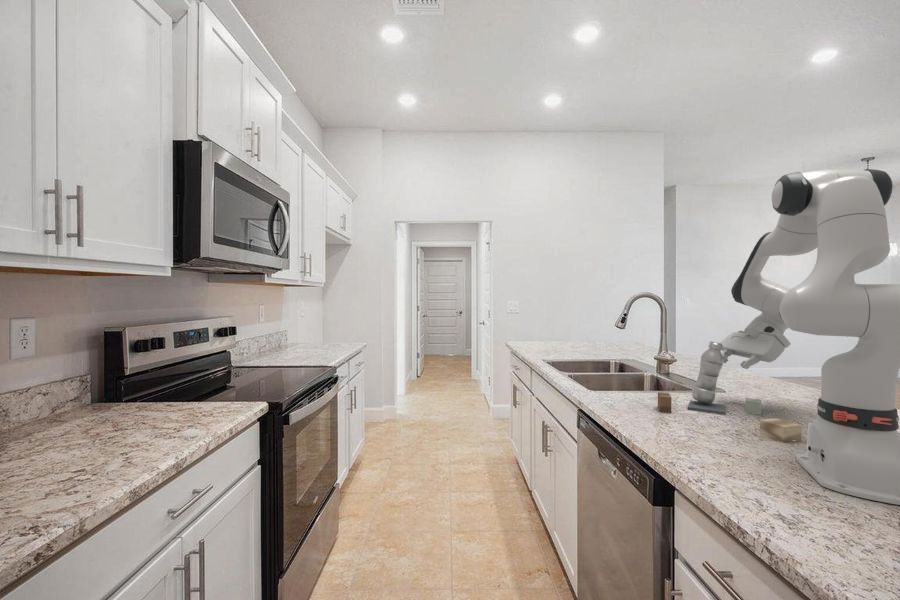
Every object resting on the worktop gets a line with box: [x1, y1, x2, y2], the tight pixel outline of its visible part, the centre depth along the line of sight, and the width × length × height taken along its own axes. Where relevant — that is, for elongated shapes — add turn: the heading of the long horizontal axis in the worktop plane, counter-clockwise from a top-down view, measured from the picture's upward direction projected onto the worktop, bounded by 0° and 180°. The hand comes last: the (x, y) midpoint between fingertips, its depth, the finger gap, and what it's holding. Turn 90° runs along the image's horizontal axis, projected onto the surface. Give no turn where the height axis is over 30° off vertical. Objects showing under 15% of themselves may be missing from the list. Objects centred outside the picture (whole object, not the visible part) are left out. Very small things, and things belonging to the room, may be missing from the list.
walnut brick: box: [657, 391, 672, 414], centre depth 131 cm, size 6×3×5 cm, turn 161°
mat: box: [687, 400, 727, 416], centre depth 133 cm, size 10×10×1 cm
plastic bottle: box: [691, 341, 725, 404], centre depth 135 cm, size 6×7×20 cm
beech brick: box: [759, 417, 802, 443], centre depth 107 cm, size 6×6×4 cm
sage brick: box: [744, 397, 762, 416], centre depth 129 cm, size 4×4×4 cm
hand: (732, 364), depth 134 cm, fingers open, 8 cm apart
